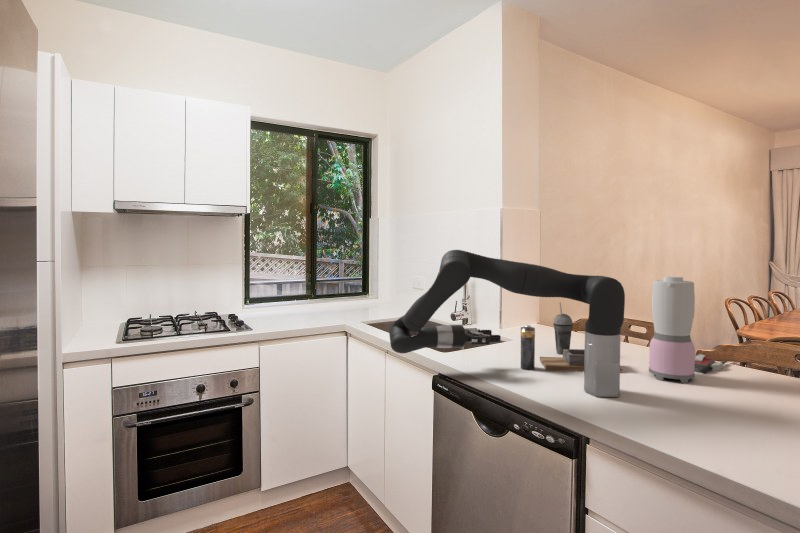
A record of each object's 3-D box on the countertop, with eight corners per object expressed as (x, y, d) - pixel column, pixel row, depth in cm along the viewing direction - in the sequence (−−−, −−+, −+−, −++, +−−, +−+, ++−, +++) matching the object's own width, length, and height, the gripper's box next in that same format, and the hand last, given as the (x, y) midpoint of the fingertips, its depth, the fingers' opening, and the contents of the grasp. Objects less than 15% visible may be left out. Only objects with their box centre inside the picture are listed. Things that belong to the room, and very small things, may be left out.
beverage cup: (574, 356, 159) (575, 304, 158) (554, 355, 161) (554, 303, 160) (570, 351, 166) (571, 301, 166) (551, 350, 168) (551, 301, 167)
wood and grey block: (622, 372, 138) (622, 349, 138) (546, 370, 141) (547, 347, 141) (608, 362, 150) (609, 341, 150) (539, 360, 153) (539, 339, 153)
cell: (535, 370, 141) (536, 327, 141) (521, 370, 142) (521, 326, 141) (533, 366, 146) (533, 324, 145) (519, 366, 147) (519, 324, 146)
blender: (696, 386, 124) (699, 278, 123) (648, 379, 131) (650, 277, 129) (691, 372, 138) (693, 275, 137) (648, 367, 144) (650, 274, 143)
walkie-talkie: (712, 377, 134) (729, 365, 147) (712, 363, 134) (729, 353, 147) (680, 371, 141) (699, 360, 154) (680, 358, 141) (699, 348, 153)
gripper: (454, 329, 133) (503, 328, 135) (444, 321, 147) (488, 320, 149) (454, 352, 133) (503, 351, 135) (443, 342, 147) (488, 341, 149)
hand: (495, 335), depth 142 cm, fingers open, 8 cm apart
